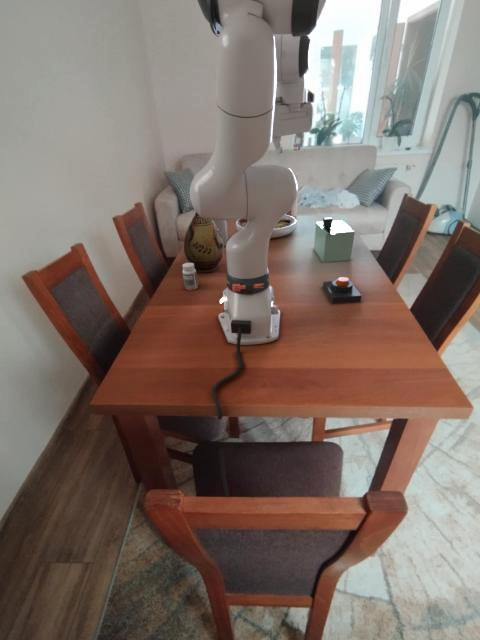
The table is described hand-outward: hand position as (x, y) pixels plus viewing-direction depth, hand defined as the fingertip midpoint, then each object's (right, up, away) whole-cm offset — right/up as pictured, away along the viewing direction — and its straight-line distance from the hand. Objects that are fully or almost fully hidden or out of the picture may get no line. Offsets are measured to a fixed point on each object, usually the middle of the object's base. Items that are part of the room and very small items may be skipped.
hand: (288, 152), depth 106 cm
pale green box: (+22, -22, +31) cm, 44 cm away
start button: (+17, -43, 0) cm, 46 cm away
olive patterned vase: (-28, -12, +48) cm, 57 cm away
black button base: (+18, -46, +2) cm, 49 cm away
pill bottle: (-33, -41, +12) cm, 54 cm away
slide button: (+19, -14, +24) cm, 33 cm away
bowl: (-3, -1, +60) cm, 60 cm away
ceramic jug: (-29, -30, +26) cm, 49 cm away
